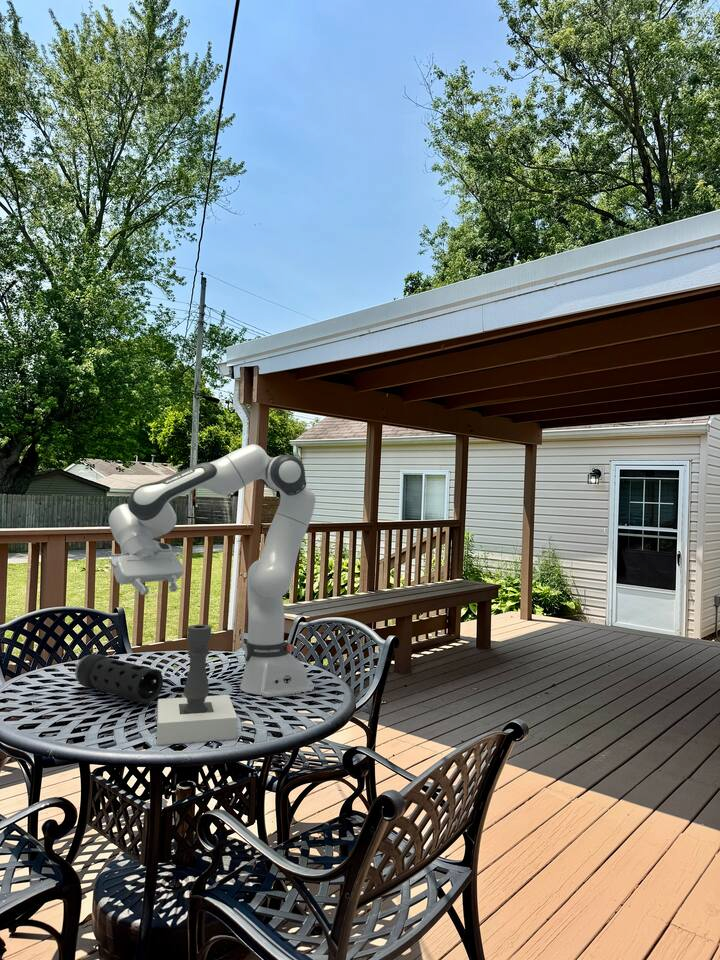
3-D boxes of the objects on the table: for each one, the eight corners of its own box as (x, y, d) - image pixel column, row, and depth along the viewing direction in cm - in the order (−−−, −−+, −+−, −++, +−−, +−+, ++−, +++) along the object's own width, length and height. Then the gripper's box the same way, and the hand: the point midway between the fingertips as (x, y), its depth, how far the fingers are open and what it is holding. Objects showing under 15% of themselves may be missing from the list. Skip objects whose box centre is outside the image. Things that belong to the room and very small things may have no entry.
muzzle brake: (134, 711, 163) (136, 672, 164) (71, 691, 178) (73, 655, 178) (163, 702, 171) (165, 665, 172) (100, 684, 186) (102, 649, 186)
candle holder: (181, 725, 154) (186, 624, 155) (206, 723, 156) (211, 624, 157) (182, 734, 148) (187, 629, 149) (208, 731, 150) (213, 629, 151)
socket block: (227, 713, 164) (228, 694, 164) (236, 738, 147) (237, 717, 147) (156, 718, 158) (158, 699, 158) (156, 745, 141) (158, 723, 141)
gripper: (112, 546, 164) (132, 587, 158) (175, 544, 180) (195, 581, 174) (101, 562, 166) (121, 602, 160) (164, 558, 183) (184, 595, 177)
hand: (160, 591), depth 167 cm, fingers open, 8 cm apart
